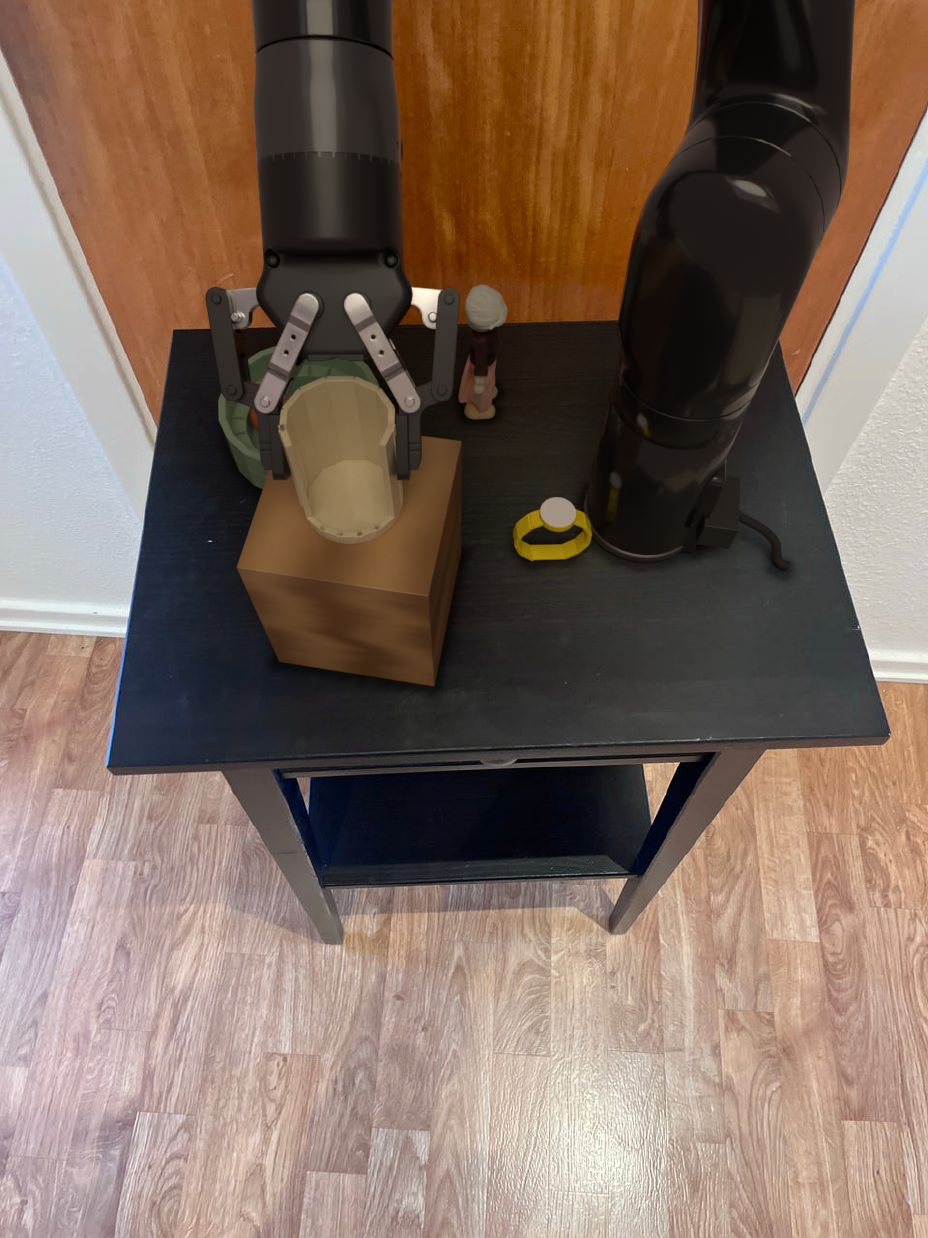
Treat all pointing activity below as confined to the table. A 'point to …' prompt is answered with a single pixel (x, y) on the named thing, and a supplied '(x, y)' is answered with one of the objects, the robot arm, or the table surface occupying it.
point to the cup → (343, 457)
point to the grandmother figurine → (482, 351)
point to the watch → (558, 519)
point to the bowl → (238, 417)
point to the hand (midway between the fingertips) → (343, 477)
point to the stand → (361, 577)
